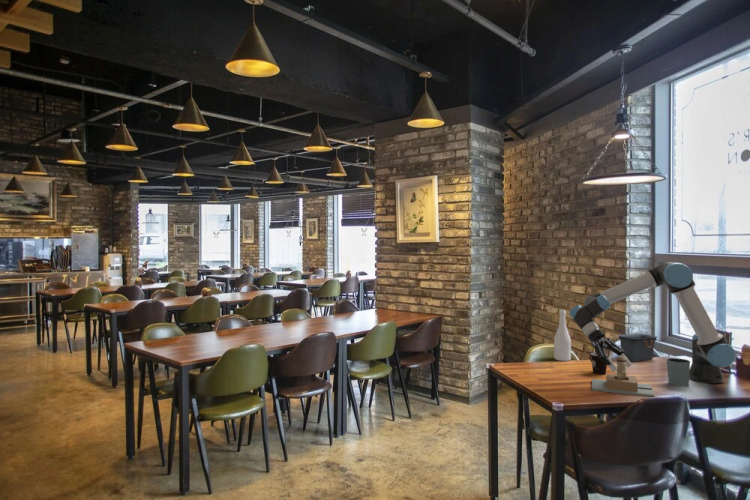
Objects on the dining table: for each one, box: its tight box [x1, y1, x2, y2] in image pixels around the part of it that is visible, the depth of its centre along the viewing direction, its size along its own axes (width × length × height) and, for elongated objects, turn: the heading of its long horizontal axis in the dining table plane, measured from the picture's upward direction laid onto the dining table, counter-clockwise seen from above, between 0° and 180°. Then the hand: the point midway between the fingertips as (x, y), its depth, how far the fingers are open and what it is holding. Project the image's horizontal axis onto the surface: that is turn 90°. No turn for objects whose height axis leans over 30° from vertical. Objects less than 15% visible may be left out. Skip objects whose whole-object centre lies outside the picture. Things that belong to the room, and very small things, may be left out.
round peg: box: [616, 355, 627, 380], centre depth 239 cm, size 4×4×14 cm
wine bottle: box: [553, 309, 572, 362], centre depth 300 cm, size 10×10×30 cm
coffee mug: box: [588, 352, 609, 375], centre depth 270 cm, size 12×9×10 cm
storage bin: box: [617, 333, 658, 362], centre depth 299 cm, size 21×16×14 cm
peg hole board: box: [591, 373, 655, 398], centre depth 239 cm, size 26×18×5 cm
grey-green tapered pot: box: [666, 357, 691, 387], centre depth 247 cm, size 10×10×12 cm
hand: (623, 368), depth 238 cm, fingers open, 13 cm apart
